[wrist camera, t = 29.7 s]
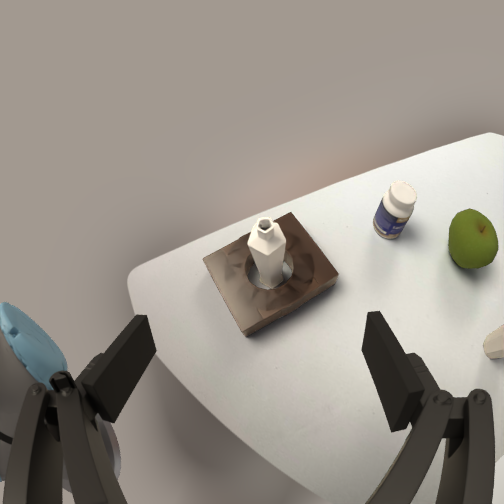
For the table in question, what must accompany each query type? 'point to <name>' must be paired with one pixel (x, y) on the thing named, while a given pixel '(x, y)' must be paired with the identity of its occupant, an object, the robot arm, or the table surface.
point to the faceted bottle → (495, 344)
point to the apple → (472, 239)
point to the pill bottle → (394, 210)
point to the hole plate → (273, 300)
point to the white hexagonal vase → (268, 251)
